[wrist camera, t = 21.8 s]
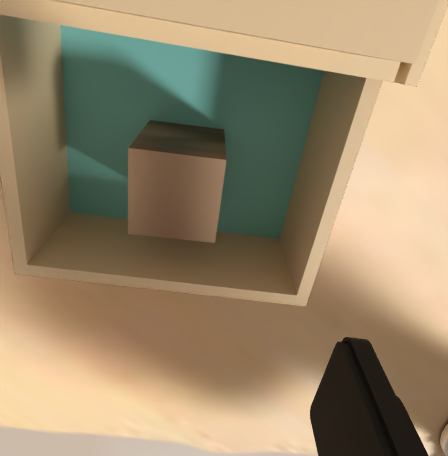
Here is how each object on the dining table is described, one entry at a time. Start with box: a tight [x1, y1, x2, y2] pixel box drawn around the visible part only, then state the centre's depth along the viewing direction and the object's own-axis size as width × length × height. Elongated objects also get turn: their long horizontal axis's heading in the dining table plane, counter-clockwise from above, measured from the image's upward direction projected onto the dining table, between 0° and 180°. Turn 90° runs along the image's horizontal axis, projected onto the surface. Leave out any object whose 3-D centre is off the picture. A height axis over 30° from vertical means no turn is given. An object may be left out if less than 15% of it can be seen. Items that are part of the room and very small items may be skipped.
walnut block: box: [128, 120, 227, 243], centre depth 20 cm, size 4×4×6 cm
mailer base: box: [0, 15, 382, 306], centre depth 18 cm, size 22×16×7 cm
